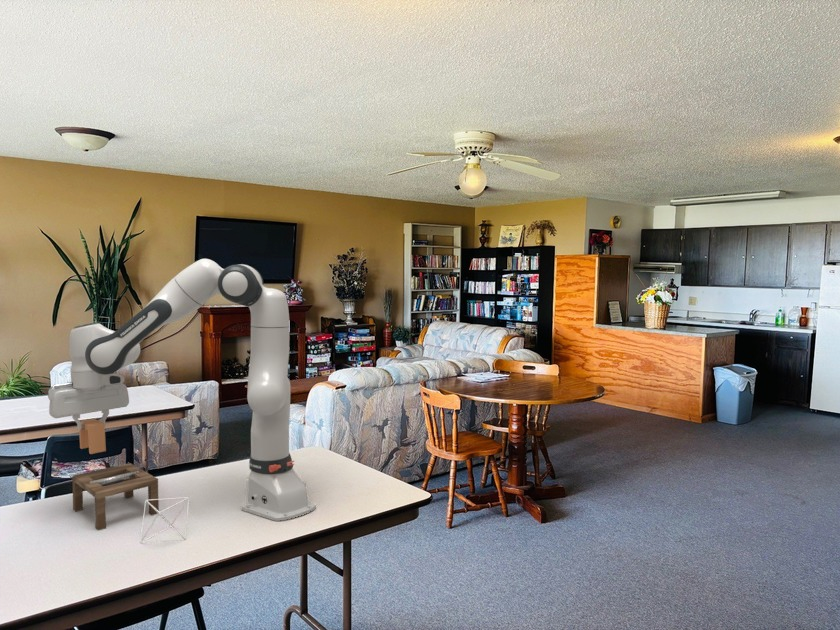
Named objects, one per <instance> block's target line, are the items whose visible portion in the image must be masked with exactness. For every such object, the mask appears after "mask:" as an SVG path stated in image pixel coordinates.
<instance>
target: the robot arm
mask: <svg viewBox="0 0 840 630" xmlns="http://www.w3.org/2000/svg"><path fill="white" fill-rule="evenodd" d="M219 294H220V295H222V297H223V298H224V299H226V300H228V301H229V302H230V303H231V302H232V303H235V304H238V305H241V306H245V307H248V308H249V311H250V356H249V357H250V358H249V364H248V365H249V366H248V374H247V375H248V377H247V392H246V393H247V395H246V398H247V399H246V400H247V402H248V406H249V408H250V409H251V410H252V415H251V427H250V455H249V462H248V465H249V470H250V473H249V475H248V476H247V477H248V478H247V479H246V483H245V496H244V503H243V504H242V505H241V511H243V512H246V513H250V514H253V515H256V516H260V517H262V518H265V519H268V520H272V521H275V522H280V520H281V521H287V519H288V520H292V519H295V517H296V518H298V516H299V517H302V516H304V514H305V515H307V514H309V513H311V512H313V511H314V510H315V509H316V508H317V505H316V503H315V502H313V501H312V500H310V499H309V498H308V491H307V483H306V482H305V481H304V480H301V478H300V476H298V474H297V472H296V471H295V469H294V465H295V463H294V462H295V460H293V458H292V456H291V454H290V417H291V416H290V415H291V389H292V388H291V381H290V379H289V378H288V371H289V359H290V358H289V357H290V313H289V311H290V310H289V304H288V300H287V296H286V294H285V293H284V292H283V291H282V290H279V289H277V288H272V287H270V288H269V287H267V286H264V279H263V276H262V274H261V273H260V271H258V269H256V268H254V267H252V266H250V265H248V264H243V263H241V264H231V265H229V266H226V267H225V268H222V267H221V266H220V265H219V264H218V263H217V262H215V261H214V260H212V259H209V258H201V259H199V260H196V261H195V262H193V263H191V264H190V265H188V266H187V267H185V268H183V270H181V271H180V272H179V273H177V274H176V275H175V276H174V277H173V278H171V280H169V281H168V282H167V283H166V284H165V285H164V286H163V287H162V288H161V289H160V290H159V292H158V293H157V294H156V295H155V296H154V297H152V299H151V300H150V301H149V302H148V303H147V304H146V305H145V306H144V307H143V308H142V309H141V310H140V311H138V313H137V314H135V315H134V316H132V317H131V318H130V319H128V320H127V321H126V322H125V323H124V324H122V325H121V326H120V327H119V328H117V329H116V330H112V329H109V328H107V327H106V326H104V325H102V324H101V323H100V322H92V323H86V324H81V325H78V326H74V327H73V328H72V329H71V331H70V334H69V340H68V341H69V343H68V344H69V345H68V347H69V349H68V351H69V358H70V361H71V367H70V381H69V382H64V383H56V384H53V386H50V387H49V388H48V391H47V397H48V399H49V408H48V411H49V413H48V414H49V416H51V417H52V418H54V419H60V418H66V417H72V419H73V420H74V422H75V423H76V425H77V430H78V431H79V430H83V429H85V427H84V426H85V423H83V422H82V423H81V422H80V421H81V420H80V419H81V415H85V414H90V413H96V412H101V414H102V416H101V418H100V419H97V420H98V421H100V422H103V423H104V425H105V426H106V425H107V424H106V420H107V418H108V416H109V415H110V410H115V409H121V408H126V407H128V406H129V404H130V396H129V391H128V387H127V385H126V384H124V382H125V377H124V376H123V375H122V374H118V373H115V372H117V371H120V369H123V368H125V367H127V366H129V365H132V364H134V363H135V362H136V361H137V360H138V359H139V358H140V355H141V352H142V351H141V350H142V348H141V344H140V343H141V342H142V341H143V340H144V339H146V338H147V337H148V336H150V335H151V334H152V333H153V332H155V331H157V330H158V329H160V328H162V327H163V326H166V325H168V324H169V325H170V323H174V322H177V321H180V320H182V319H184V318H186V317H188V316H190V315H192V314H193V313H194V312H196V311H197V310H198V309H200V308H201V307H203V305H204V304H206V302H208V301H209V300H210V299H211V298H213V297H214V296H216V295H219ZM312 510H313V511H312ZM310 511H311V512H310ZM306 513H307V514H306ZM301 515H302V516H301ZM291 518H292V519H291Z"/></svg>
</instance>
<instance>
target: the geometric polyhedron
mask: <svg viewBox="0 0 840 630" xmlns="http://www.w3.org/2000/svg"><path fill="white" fill-rule="evenodd" d="M178 499H181V500H180V501H178V502H177V503H174V504H172V505H170V506H168V507H167V508H165V509H163V510H160V511H158V510H157V509H156V508H155V507H154V506H152V505H151V504H150V503H149V502H148V499H144V500H145V501H144V507H143V508H144V509H143V517H142V524H141V532H140V541H139V542H140V544H148V543H151V544H152V541H147V540H149V539H151V538H153V537H155V536H156V535H158V534H160V533H162V532H163V531H165V530H167V529H169V528H172V530H173V531H175V532H176V533H177V534H178V535H179V536H180V537H181V539H170V540H169V539H168V540H158V541H157V540H155V541H153V543H160V542H161V543H162V542H164V543H165V542H175V541H177V542H178V541H185V540H186V539H187V529H188V519H189V509H190V508H189V505H190V497H189V496H188V497H187V496H184V497H183V496H182V497H172V498H171V497H169V498H168V497H166V498H165V497H164V498H158V499H149V500H159V501H160V500H161V501H162V500H163V501H164V500H178ZM184 501H185V502H184ZM182 502H184V504H183V505H182V507H181V509H180V510H179V512H178V513H177V515H176V517H175V518H174V520H173V521H172V523H171V522H170V521H169V520H168V519H167V518H166V516H164V515H163V514H162V512H165V511H166V510H168V509H170V508H173V507H174V506H176V505H179V504H180V503H182ZM147 504H148V506H149V505H150V506H151V507H152V508H153V509H154V510H155V509H156V510H157V511H158V512H159V513H158V512H157V511H156V510H155V511H156V512H157V513H158V514H156V517H155V518H154V520H153V522H152V523H151V525H150V527H149V528H148V529H147V531H146V533H145V534H144V535H143V532H144V531H143V529H144V522H145V513H146V506H147ZM186 504H187V512H186V523H185V533H184V536H183V535H182V534H181V532H179V530H177V529H176V528H175V526H174V522H176V520H177V518H178V516H179V514H180V513H181V512H182V510H183V508H184V507H185V506H186ZM159 516H160V518H161V519H163V521H164V522H166V524H167V525H168V527H166V528H164V529H163V530H161V531H158V532H157V533H156V534H153V535H151V536H150V537H148V538H146V539H145V537H146V536H147V534H148V532H149V531H150V530H151V528H152V526H153V525H154V524H155V522H156V520H157V518H158V517H159Z"/></svg>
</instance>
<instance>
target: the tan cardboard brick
mask: <svg viewBox="0 0 840 630" xmlns="http://www.w3.org/2000/svg"><path fill="white" fill-rule="evenodd" d="M98 420H99V419H96V418H89V419H88V418H87V419H82V420H79V421H80V422H81V423H82V422H83V423H85V426H84V427H85V429H83V430H78V434H79V436H78V437H79V448H80V449H81V450H83V449H87V448H88V452H89V453H88V454H90V455H93V454H98V453H103V452H107V447H106V428H105V426H106V425H104V423H103V422H100V421H98Z"/></svg>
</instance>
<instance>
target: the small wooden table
mask: <svg viewBox="0 0 840 630" xmlns="http://www.w3.org/2000/svg"><path fill="white" fill-rule="evenodd" d="M135 471H139V473H134V478H129V479H125V480H123V481H120V482H118V483H110V484H106V485H100V484H99V483H97V482H95V483H90V482H91V481H95V480H99V479H104V478H108V477H113V476H117V475H122V474H126V473H131V472H135ZM71 477H72V478H71V480H72V509H73V511H74V512H80V511H82V510H84V495H83V493H84V491H85V492H87V493H89V494H90V495H91V496H92V497H93V498H94V525H95V526H94V527H95V529H96V530H97V531H101V530H104V529H107V513H106V512H107V511H106V510H107V507H106V504H107V503H106V498H107V497H111V496H115V495H119V494H123V497H124V498H126V499H131V498H133V497H134V492H135V490H136V491H137V490H140V489H143V488H147V493H148V494H147V495H148V496H147V498H148V499H147V500H148V502H149V503H150V504H151V505H152V506H154V507H155V508H156V509H157V510H158V511H159V510H160V508H159V507H160V504H159V503H160V502H159V501H160V500H149V499H159V478H157V477H156V476H153V475H152V474H150V473H149V472H146V471H145V470H143V469H142V468H139V467H138V466H136V465H135V464H133V463H131V462H129V463H125V464H119V465H115V466H112V467H106V468H102V469H96V470H91V471H88V472H82V473H78V474H74V475H72V476H71ZM83 490H84V491H83ZM148 502H147V503H148ZM156 509H155V510H156ZM155 510H154V509H153V508H152V507H151V506H150V505H149V504H148V514H149V515H150V516H155V515H158V513H159V512H160V511H159V512H158V511H157V510H156V511H157V512H158V513H157V512H156V511H155Z"/></svg>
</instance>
